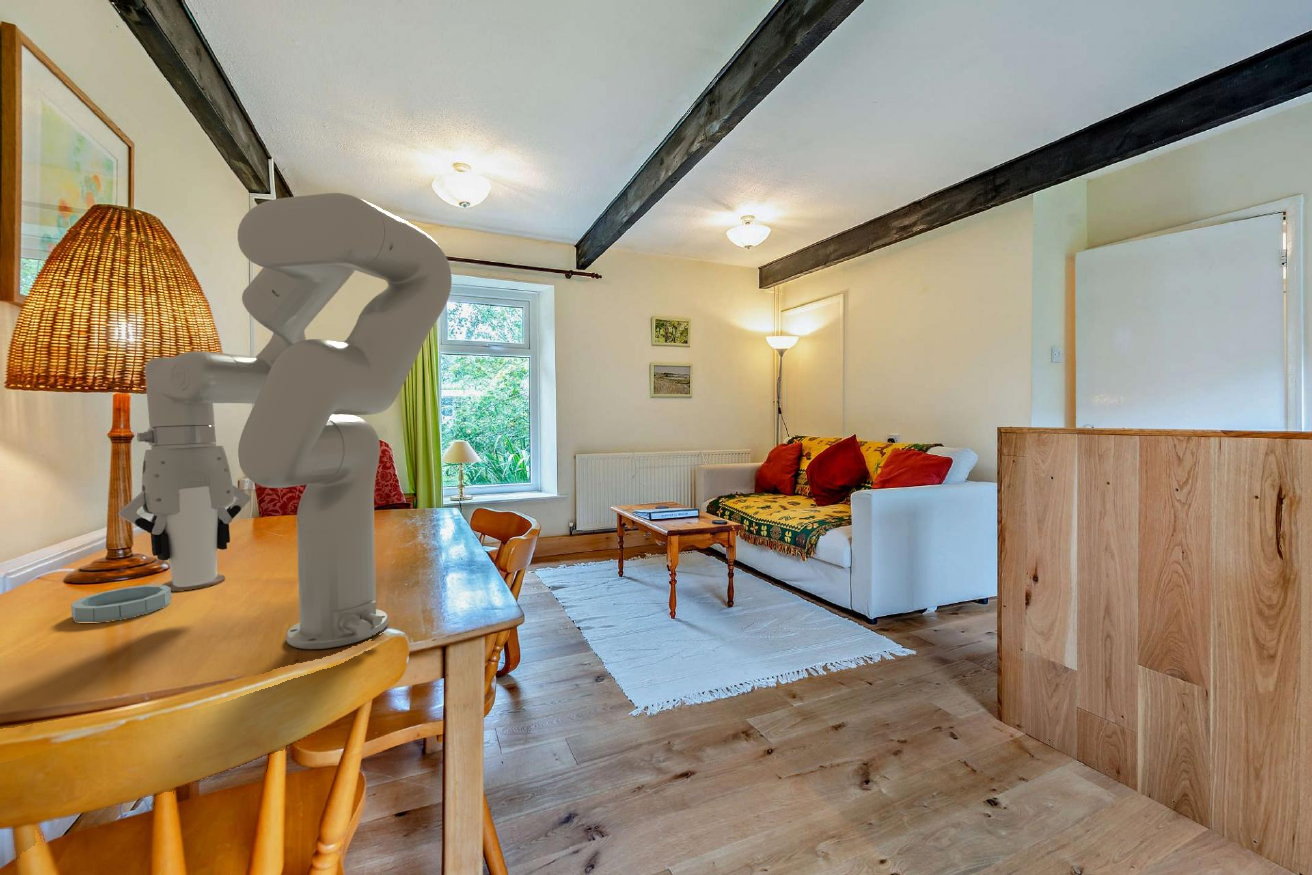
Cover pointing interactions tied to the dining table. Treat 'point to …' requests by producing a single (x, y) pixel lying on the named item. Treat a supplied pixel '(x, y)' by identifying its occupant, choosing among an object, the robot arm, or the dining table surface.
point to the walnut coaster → (218, 579)
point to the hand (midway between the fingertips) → (193, 552)
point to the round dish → (121, 603)
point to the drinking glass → (193, 538)
